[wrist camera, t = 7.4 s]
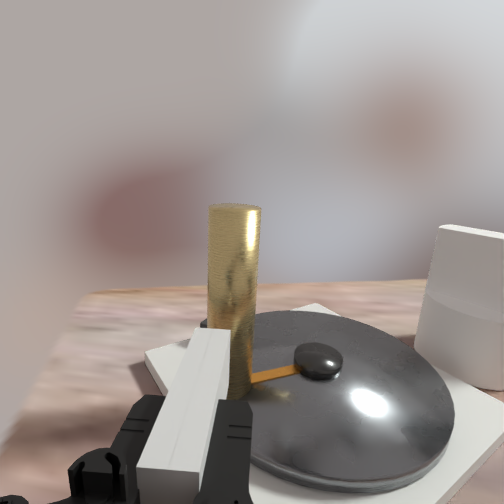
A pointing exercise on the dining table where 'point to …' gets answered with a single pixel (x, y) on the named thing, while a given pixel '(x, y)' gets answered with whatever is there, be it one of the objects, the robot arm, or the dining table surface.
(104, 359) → the dining table surface
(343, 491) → the cam dial
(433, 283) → the cylinder with rectangular tab
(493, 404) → the base plate
